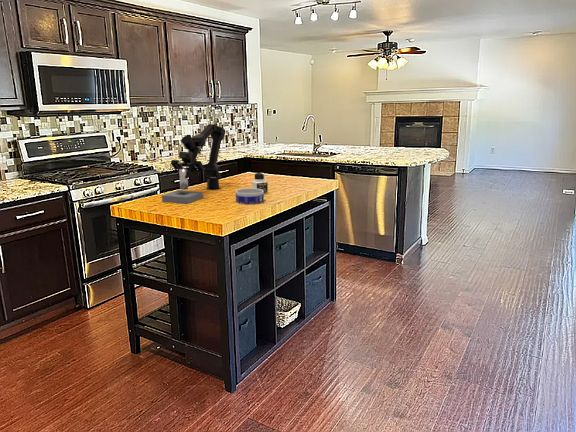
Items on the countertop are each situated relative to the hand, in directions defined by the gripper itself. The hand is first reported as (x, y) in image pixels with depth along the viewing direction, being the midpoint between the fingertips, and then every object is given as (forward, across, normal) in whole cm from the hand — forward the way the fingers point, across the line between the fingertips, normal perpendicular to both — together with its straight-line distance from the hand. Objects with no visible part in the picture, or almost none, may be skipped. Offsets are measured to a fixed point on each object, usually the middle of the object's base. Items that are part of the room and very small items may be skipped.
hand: (182, 177), depth 243 cm
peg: (+4, 0, +6) cm, 7 cm away
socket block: (+9, 0, +8) cm, 13 cm away
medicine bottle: (-13, +33, +31) cm, 47 cm away
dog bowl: (+3, +37, +16) cm, 40 cm away
